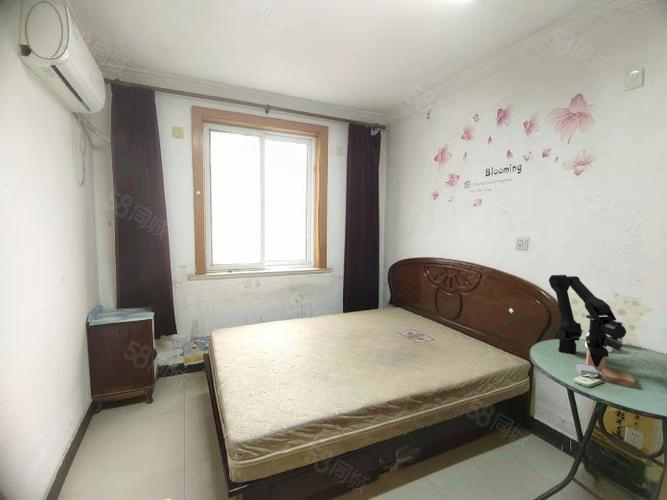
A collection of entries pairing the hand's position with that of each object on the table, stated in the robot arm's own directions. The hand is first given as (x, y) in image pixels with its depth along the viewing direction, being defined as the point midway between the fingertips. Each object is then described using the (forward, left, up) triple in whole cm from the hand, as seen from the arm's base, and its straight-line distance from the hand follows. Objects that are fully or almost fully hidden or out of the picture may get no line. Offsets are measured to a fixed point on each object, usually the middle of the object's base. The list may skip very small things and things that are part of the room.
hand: (595, 363), depth 142 cm
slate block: (-4, -11, -2) cm, 12 cm away
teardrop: (+4, +27, -2) cm, 27 cm away
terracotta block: (0, 0, -1) cm, 1 cm away
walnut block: (+6, -11, -2) cm, 13 cm away
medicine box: (+10, +36, -2) cm, 37 cm away
